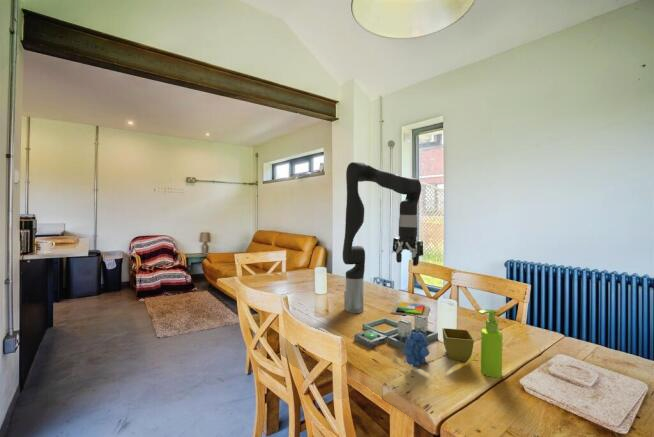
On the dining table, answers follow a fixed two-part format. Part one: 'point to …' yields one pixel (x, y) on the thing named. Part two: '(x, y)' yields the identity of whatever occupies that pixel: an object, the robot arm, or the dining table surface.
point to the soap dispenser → (491, 346)
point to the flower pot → (458, 344)
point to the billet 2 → (421, 324)
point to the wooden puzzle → (410, 309)
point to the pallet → (395, 342)
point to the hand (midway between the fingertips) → (407, 264)
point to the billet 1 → (404, 330)
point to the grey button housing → (370, 343)
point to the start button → (370, 335)
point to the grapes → (416, 349)
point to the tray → (376, 322)
